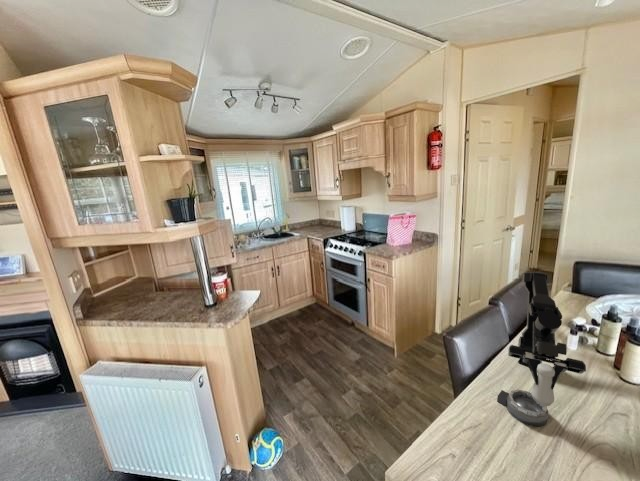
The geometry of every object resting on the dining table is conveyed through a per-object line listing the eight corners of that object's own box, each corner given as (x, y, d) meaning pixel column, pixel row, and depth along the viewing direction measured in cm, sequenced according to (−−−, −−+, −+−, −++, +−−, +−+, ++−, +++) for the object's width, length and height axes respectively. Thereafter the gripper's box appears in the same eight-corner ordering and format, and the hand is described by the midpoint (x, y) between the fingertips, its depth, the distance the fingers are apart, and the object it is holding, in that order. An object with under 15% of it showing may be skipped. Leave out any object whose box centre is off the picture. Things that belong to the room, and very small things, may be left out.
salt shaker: (551, 398, 86) (556, 363, 83) (555, 411, 82) (561, 375, 79) (528, 392, 89) (533, 358, 86) (531, 404, 85) (535, 369, 82)
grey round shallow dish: (493, 406, 92) (494, 395, 91) (504, 390, 99) (505, 380, 98) (542, 433, 82) (543, 421, 81) (551, 413, 88) (553, 402, 87)
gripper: (511, 323, 89) (510, 372, 82) (589, 338, 78) (594, 395, 72) (509, 332, 97) (507, 377, 90) (579, 347, 86) (582, 399, 80)
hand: (544, 386), depth 83 cm, fingers closed on salt shaker, 3 cm apart
